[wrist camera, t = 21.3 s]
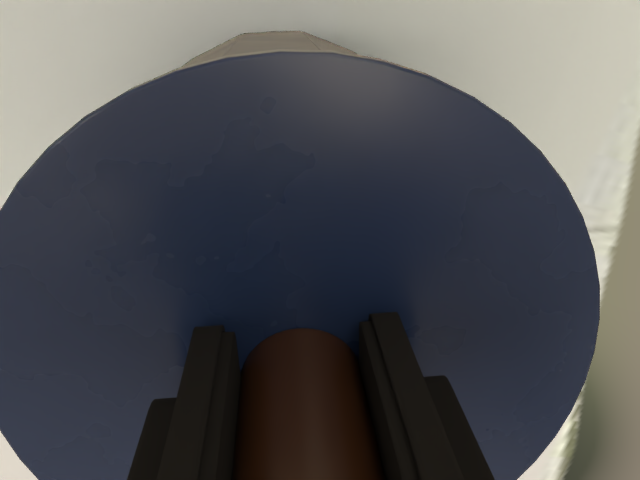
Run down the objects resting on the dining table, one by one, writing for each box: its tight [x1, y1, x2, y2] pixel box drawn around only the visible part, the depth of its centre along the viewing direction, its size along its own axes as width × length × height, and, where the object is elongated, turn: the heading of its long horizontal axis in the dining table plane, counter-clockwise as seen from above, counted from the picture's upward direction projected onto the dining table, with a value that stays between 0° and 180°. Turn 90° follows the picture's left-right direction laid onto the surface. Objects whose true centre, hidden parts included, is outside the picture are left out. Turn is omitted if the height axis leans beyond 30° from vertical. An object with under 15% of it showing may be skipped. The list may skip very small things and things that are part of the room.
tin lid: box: [0, 49, 600, 480], centre depth 9 cm, size 12×12×6 cm
